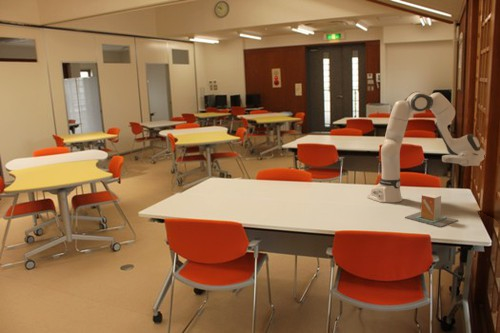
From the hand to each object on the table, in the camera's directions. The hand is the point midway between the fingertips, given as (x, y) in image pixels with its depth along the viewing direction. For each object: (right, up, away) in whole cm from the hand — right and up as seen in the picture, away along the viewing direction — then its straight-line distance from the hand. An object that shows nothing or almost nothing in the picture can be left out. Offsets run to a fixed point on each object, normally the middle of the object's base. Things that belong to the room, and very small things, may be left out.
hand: (452, 161), depth 257 cm
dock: (-17, -32, -11) cm, 38 cm away
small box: (-17, -31, -11) cm, 37 cm away
